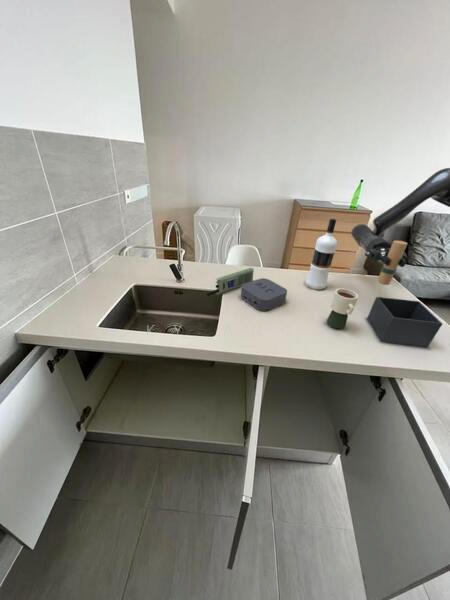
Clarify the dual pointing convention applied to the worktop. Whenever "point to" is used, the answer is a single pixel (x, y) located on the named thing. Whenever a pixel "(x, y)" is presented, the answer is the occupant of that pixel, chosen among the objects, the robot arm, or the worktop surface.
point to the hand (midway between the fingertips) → (396, 263)
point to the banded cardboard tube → (392, 262)
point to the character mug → (342, 307)
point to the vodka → (322, 259)
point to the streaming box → (263, 294)
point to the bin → (403, 322)
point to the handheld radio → (232, 281)
